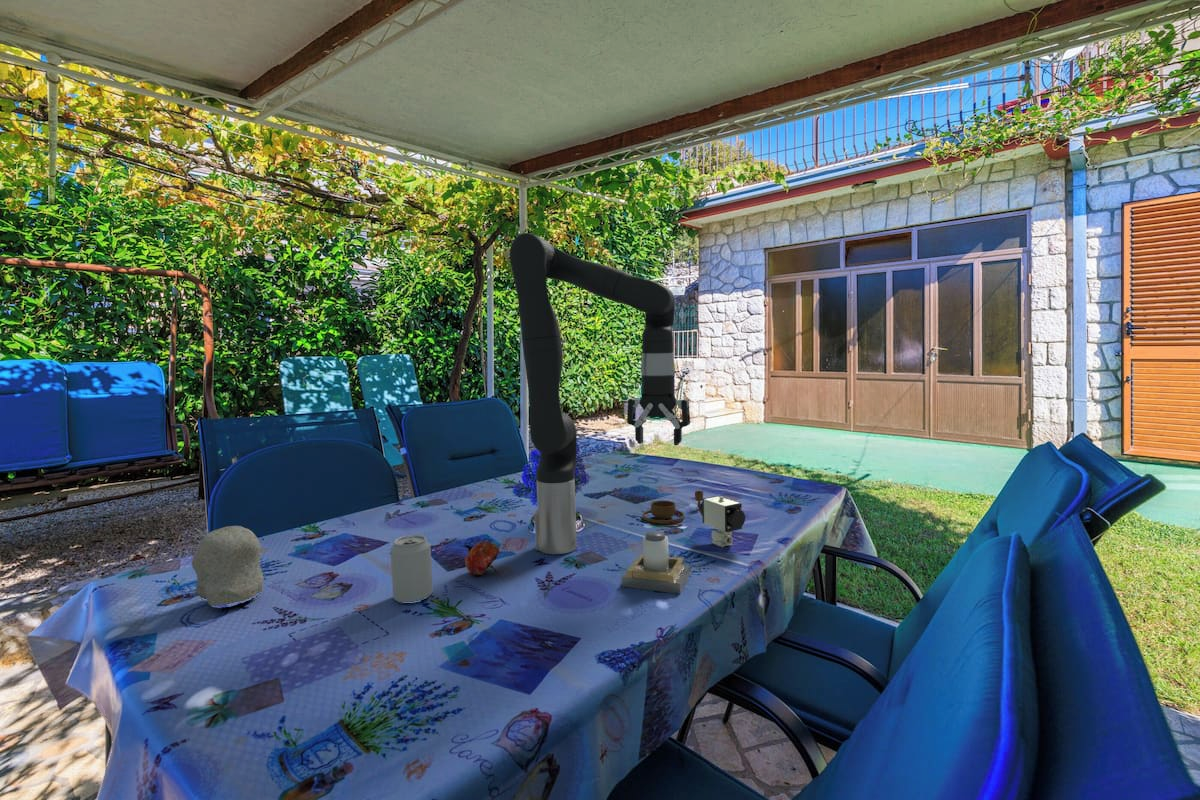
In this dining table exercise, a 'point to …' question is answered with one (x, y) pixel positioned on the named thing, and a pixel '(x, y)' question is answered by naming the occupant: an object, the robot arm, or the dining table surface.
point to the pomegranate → (481, 557)
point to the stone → (228, 566)
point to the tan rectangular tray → (657, 576)
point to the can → (411, 568)
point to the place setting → (668, 511)
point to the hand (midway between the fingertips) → (658, 443)
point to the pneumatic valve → (722, 518)
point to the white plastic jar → (656, 552)
